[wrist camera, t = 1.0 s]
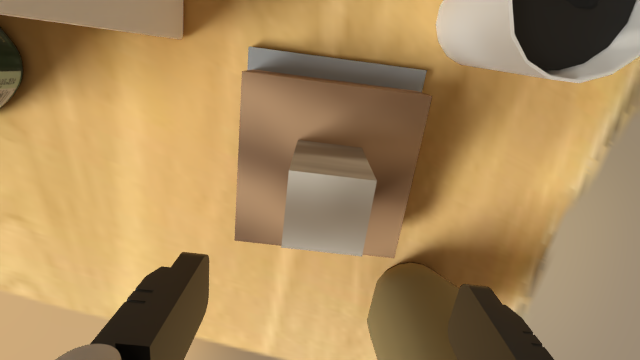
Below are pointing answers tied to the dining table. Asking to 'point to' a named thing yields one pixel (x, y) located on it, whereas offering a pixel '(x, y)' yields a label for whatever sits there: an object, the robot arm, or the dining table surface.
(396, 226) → the tan plate with knob
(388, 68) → the rubber mat
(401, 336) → the squeeze bottle
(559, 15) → the white cup
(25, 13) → the milk carton
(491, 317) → the robot arm
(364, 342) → the dining table surface
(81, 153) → the dining table surface
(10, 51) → the coffee jar
